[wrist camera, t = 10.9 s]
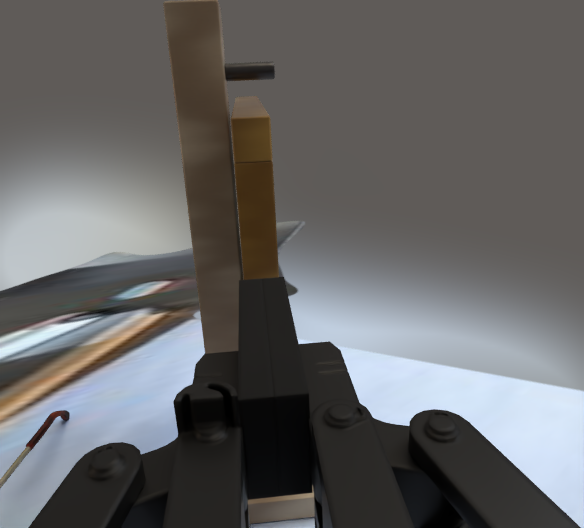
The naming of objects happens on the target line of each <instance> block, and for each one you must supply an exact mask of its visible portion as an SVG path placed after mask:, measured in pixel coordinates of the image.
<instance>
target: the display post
mask: <svg viewBox="0 0 584 528" xmlns="http://www.w3.org/2000/svg"><path fill="white" fill-rule="evenodd" d="M163 4H164V13H165V22H166V30H167V39H168V46H169V55H170V63H171V72H172V80H173V88H174V97H175V105H176V113H177V122H178V130H179V138H180V147H181V155H182V163H183V172H184V180H185V188H186V196H187V205H188V213H189V221H190V230H191V238H192V247H193V255H194V263H195V272H196V280H197V288H198V297H199V305H200V312H201V322H202V330H203V338H204V347H205V354H208V353H220V352H231V351H238V334H239V280H243V270H242V258H241V246H240V234H239V222H238V210H237V198H236V186H235V174H234V162H233V150H232V138H231V126H230V114H229V102H228V90H227V81H241V80H263V79H274V78H275V71H274V63H273V62H255V63H254V62H253V63H231V64H230V63H229V64H225V54H224V42H223V30H222V18H221V9H220V6H219V3H218V1H217V0H191V1H190V0H189V1H165V2H164V3H163ZM312 491H313V485H312ZM248 509H249V519H250V524H254V523H263V522H272V521H281V520H290V519H299V518H308V517H315V509H314V491H313V493H306V494H297V495H288V496H278V497H269V498H260V499H251V500H248Z"/></svg>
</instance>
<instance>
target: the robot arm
mask: <svg viewBox="0 0 584 528" xmlns="http://www.w3.org/2000/svg"><path fill="white" fill-rule="evenodd" d="M174 408H175V415H176V421H177V428H178V437H177V438H176V439H175V440H174V441H173V442H171V443H169V444H168V445H166V446H164V447H161V448H159V449H157V450H154V451H151V452H148V453H145V454H142V455H141V454H140V450H139V449H137V448H136V447H135V446H134V445H132V444H127V443H123V442H121V443H109V444H106V445H103V446H100V447H97V448H95V449H94V450H92V451H90V452H88V453H87V454H85V455H84V456H83V457H82V458H81V459H80V460H79V461H78V462H77V463H76V464H75V466H74V467H73V468H72V470H71V471H70V472H69V474H68V475H67V476H66V478H65V479H64V480H63V482H62V483H61V484H60V486H59V487H58V489H57V490H56V491H55V493H54V494H53V495H52V497H51V498H50V499H49V501H48V502H47V503H46V505H45V506H44V507H43V509H42V510H41V511H40V513H39V514H38V515H37V517H36V518H35V520H34V521H33V522H32V524H31V525H30V526H29V528H250V519H249V509H248V500H251V499H260V498H269V497H278V496H288V495H297V494H306V493H313V491H314V509H315V528H581V527H579V526H578V525H577V524H576V523H575V522H574V521H573V520H572V519H571V518H570V517H569V516H568V515H567V514H566V513H565V512H564V511H563V510H561V509H560V508H559V507H558V506H557V505H556V504H555V503H554V502H553V501H552V500H551V499H550V498H549V497H548V496H547V495H546V494H544V493H543V492H542V491H541V490H540V489H539V488H538V487H537V486H536V485H535V484H534V483H533V482H532V481H531V480H530V479H529V478H528V477H526V476H525V475H524V474H523V473H522V472H521V471H520V470H519V469H518V468H517V467H516V466H515V465H514V464H513V463H512V462H511V461H509V460H508V459H507V458H506V457H505V456H504V455H503V454H502V453H501V452H500V451H499V450H498V449H497V448H496V447H495V446H494V445H493V444H491V443H490V442H489V441H488V440H487V439H486V438H485V437H484V436H483V435H482V434H481V433H480V432H479V431H478V430H477V429H476V428H474V427H473V426H472V425H471V424H470V423H469V422H468V421H467V420H465V419H464V418H462V417H461V416H459V415H457V414H454V413H452V412H449V411H444V410H435V409H434V410H427V411H422V412H420V413H418V414H416V415H415V416H414V417H413V418H412V419H411V421H410V426H403V425H395V424H390V423H385V422H382V421H379V420H376V419H374V418H373V417H372V415H371V414H370V412H369V411H368V409H367V408H366V407H365V406H363V405H361V404H360V403H359V400H358V398H357V395H356V392H355V389H354V387H353V384H352V381H351V378H350V376H349V373H348V371H347V367H346V365H345V363H344V359H343V357H342V354H341V351H340V350H339V349H338V348H337V347H336V346H334V345H333V344H332V343H331V342H320V343H309V344H298V340H297V336H296V331H295V326H294V322H293V317H292V313H291V308H290V304H289V299H288V294H287V289H286V285H285V280H284V277H275V278H262V279H249V280H239V334H238V351H231V352H220V353H208V354H204V355H203V357H202V358H201V359H200V360H199V361H198V363H197V364H196V367H195V373H194V380H193V384H192V385H190V386H187V387H185V388H184V389H183V390H182V391H180V392H179V393H178V394H177V396H176V398H175V400H174ZM312 485H313V491H312Z"/></svg>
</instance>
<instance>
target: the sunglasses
mask: <svg viewBox="0 0 584 528" xmlns="http://www.w3.org/2000/svg"><path fill="white" fill-rule="evenodd" d="M58 416H61V418H62V419H63V420H68V419H69V412H68V411H65V410H64V411H56V412H53V413H52V414H50V415H49V417H48V418H47V420H46V421H45V422H44V424H43V425H42V426H41V427H40V429H39V430H38V431H37V433H36V434H35V435H34V436H33V437H32V439H31V440H30V441H29V442H28V443H27V445H26V448H25V450H24V451H23V452H22V453H21V455H20V456H19V457H18V458H17V459H16V461H15V462H14V463H13V464H12V466H11V467H10V468H9V469H8V471H7V472H6V473H5V474H4V476H3V477H2V478H1V479H0V488H1V487H2V486H3V484H4V483H5V482H6V481H7V479H8V478H9V477H10V476H11V474H12V473H13V472H14V471H15V469H16V468H17V467H18V466H19V464H20V463H21V462H22V460H23V459H24V458H25V457H26V456H27V454H28V453H29V452H30V451H31V450H32V449H33V447H34V446H35V445H36V444H37V443H38V441H39V440H40V439H41V438H42V436H43V435H44V434H45V432H46V431H47V430H48V428H49V427H50V426H51V424H52V423H53V421H54V420H55V418H56V417H58Z"/></svg>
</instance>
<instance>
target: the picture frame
mask: <svg viewBox="0 0 584 528" xmlns="http://www.w3.org/2000/svg"><path fill="white" fill-rule="evenodd" d="M231 131H232V143H233V154H234V167H235V179H236V190H237V203H238V215H239V227H240V239H241V251H242V263H243V275H244V280H249V279H262V278H275V277H279V270H278V251H277V233H276V215H275V197H274V179H273V162H272V145H271V144H272V143H271V124H270V117H269V115H268V113H267V112H266V110H265V108H264V107H263V105H262V104H261V102H260V100H259V99H258V97H257V96H247V97H236V100H235V104H234V109H233V112H232V116H231Z"/></svg>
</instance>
